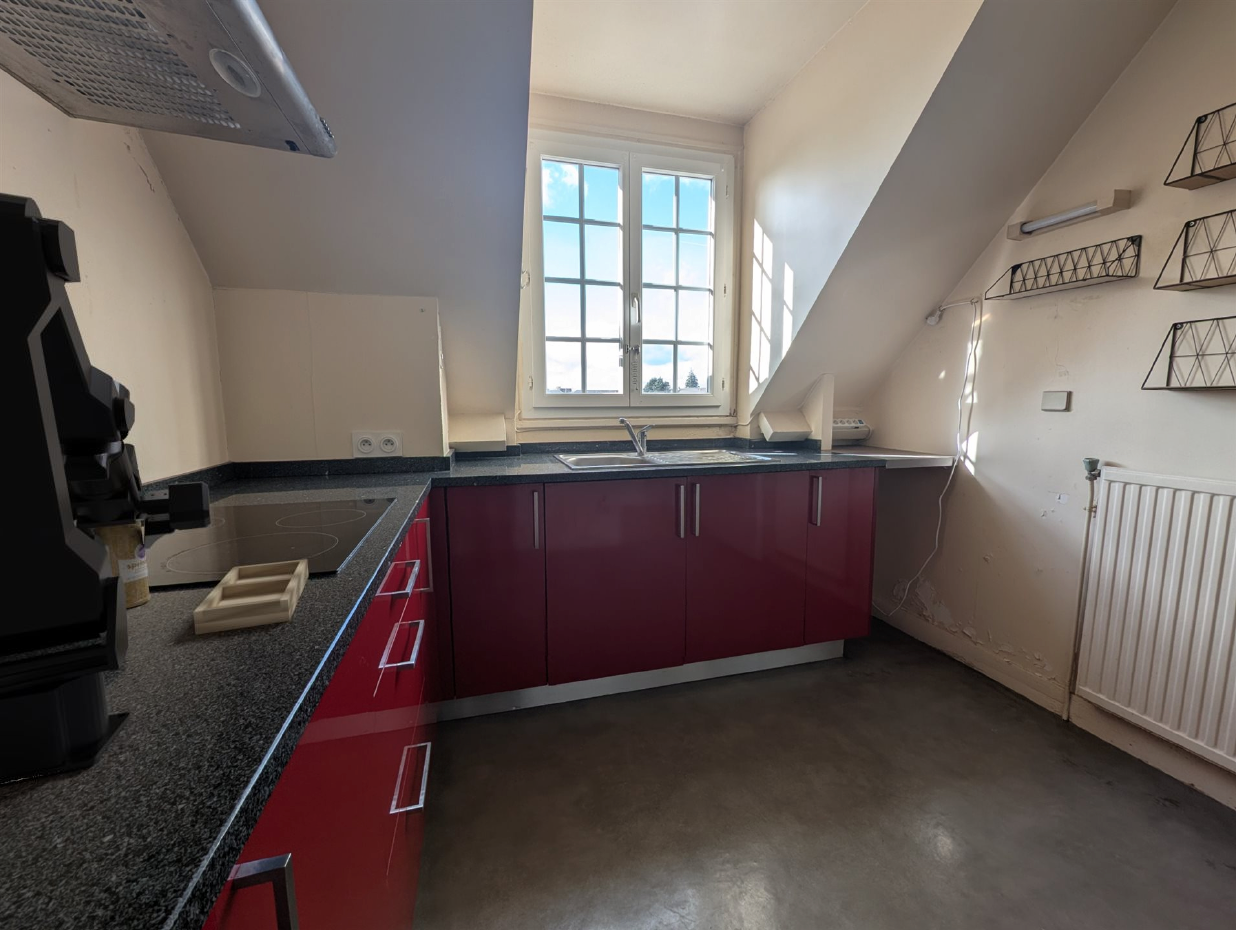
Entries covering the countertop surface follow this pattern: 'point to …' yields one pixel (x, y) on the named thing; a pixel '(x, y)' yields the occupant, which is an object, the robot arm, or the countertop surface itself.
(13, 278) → the robot arm
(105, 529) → the sprinkles bottle
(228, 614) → the caddy
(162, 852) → the countertop surface
